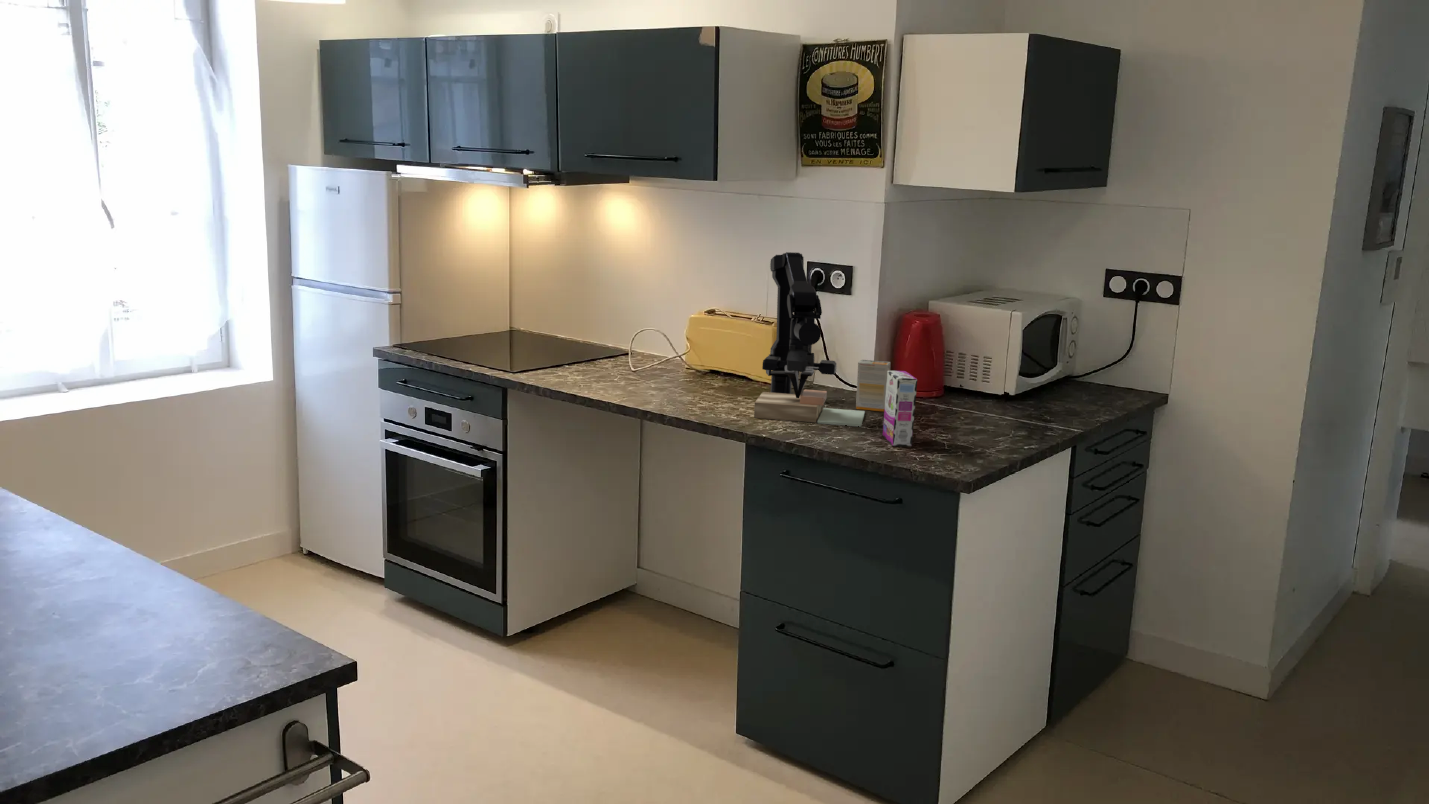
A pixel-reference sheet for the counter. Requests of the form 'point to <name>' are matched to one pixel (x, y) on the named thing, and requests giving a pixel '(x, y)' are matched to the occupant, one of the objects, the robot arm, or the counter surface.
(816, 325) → the robot arm
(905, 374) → the candy bar box
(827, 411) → the mat
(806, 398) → the tile
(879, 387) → the supplement box
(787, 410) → the board
